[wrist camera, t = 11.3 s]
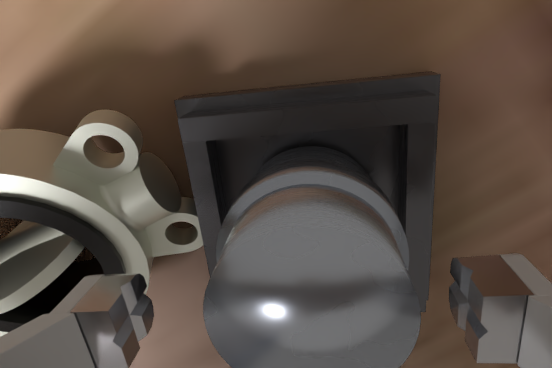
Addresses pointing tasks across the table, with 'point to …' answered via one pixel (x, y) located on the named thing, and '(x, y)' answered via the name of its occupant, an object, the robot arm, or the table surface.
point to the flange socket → (323, 133)
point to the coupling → (312, 270)
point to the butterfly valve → (83, 212)
